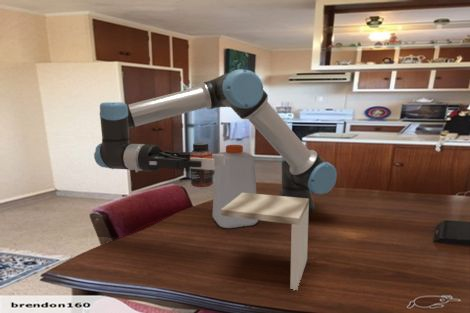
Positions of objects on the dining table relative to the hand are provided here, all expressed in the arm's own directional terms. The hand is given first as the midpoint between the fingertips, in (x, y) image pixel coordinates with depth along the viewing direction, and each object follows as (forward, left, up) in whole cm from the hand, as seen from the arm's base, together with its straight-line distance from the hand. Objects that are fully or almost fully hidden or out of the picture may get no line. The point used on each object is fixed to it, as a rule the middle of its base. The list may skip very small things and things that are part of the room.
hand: (219, 162), depth 85 cm
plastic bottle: (-21, +24, -28) cm, 42 cm away
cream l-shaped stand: (+11, +7, -28) cm, 31 cm away
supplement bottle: (-5, -2, -7) cm, 8 cm away
